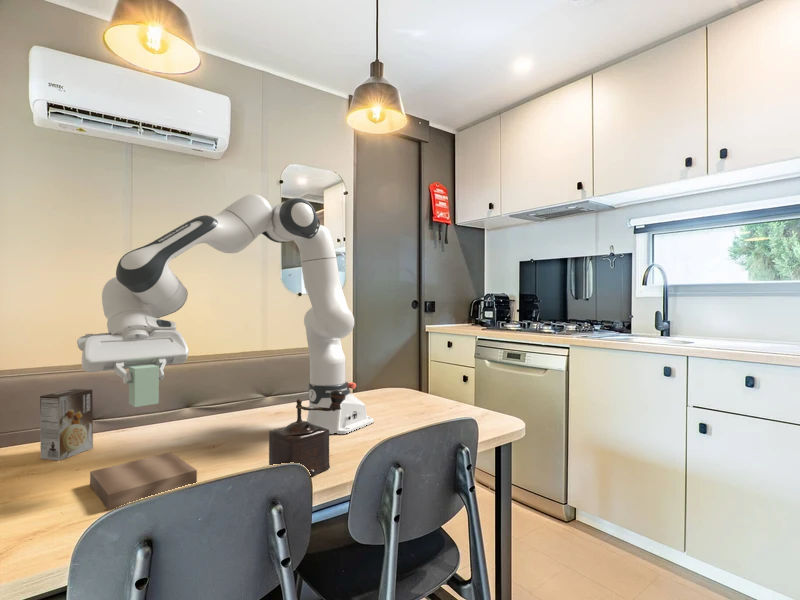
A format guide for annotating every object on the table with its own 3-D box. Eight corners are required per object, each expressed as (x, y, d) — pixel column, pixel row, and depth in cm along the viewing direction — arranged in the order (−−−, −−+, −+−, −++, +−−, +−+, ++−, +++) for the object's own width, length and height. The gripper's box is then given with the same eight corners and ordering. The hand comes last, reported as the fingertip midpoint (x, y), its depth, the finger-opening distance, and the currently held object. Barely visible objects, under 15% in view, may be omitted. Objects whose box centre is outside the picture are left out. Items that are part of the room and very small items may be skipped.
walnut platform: (171, 464, 100) (171, 452, 100) (196, 483, 89) (196, 469, 89) (90, 485, 89) (90, 471, 89) (108, 510, 78) (108, 494, 78)
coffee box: (74, 446, 113) (74, 388, 113) (93, 448, 112) (94, 389, 112) (38, 459, 104) (39, 395, 104) (59, 461, 103) (60, 396, 103)
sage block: (152, 400, 92) (152, 364, 93) (158, 403, 89) (158, 366, 89) (128, 403, 89) (129, 366, 89) (134, 407, 86) (135, 368, 86)
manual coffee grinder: (294, 484, 89) (294, 400, 89) (267, 470, 97) (267, 393, 97) (349, 463, 100) (349, 389, 101) (321, 452, 108) (321, 384, 108)
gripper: (78, 324, 87) (87, 377, 80) (182, 321, 101) (197, 365, 95) (73, 344, 90) (82, 396, 83) (175, 338, 104) (190, 382, 98)
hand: (144, 380), depth 89 cm, fingers closed on sage block, 4 cm apart
